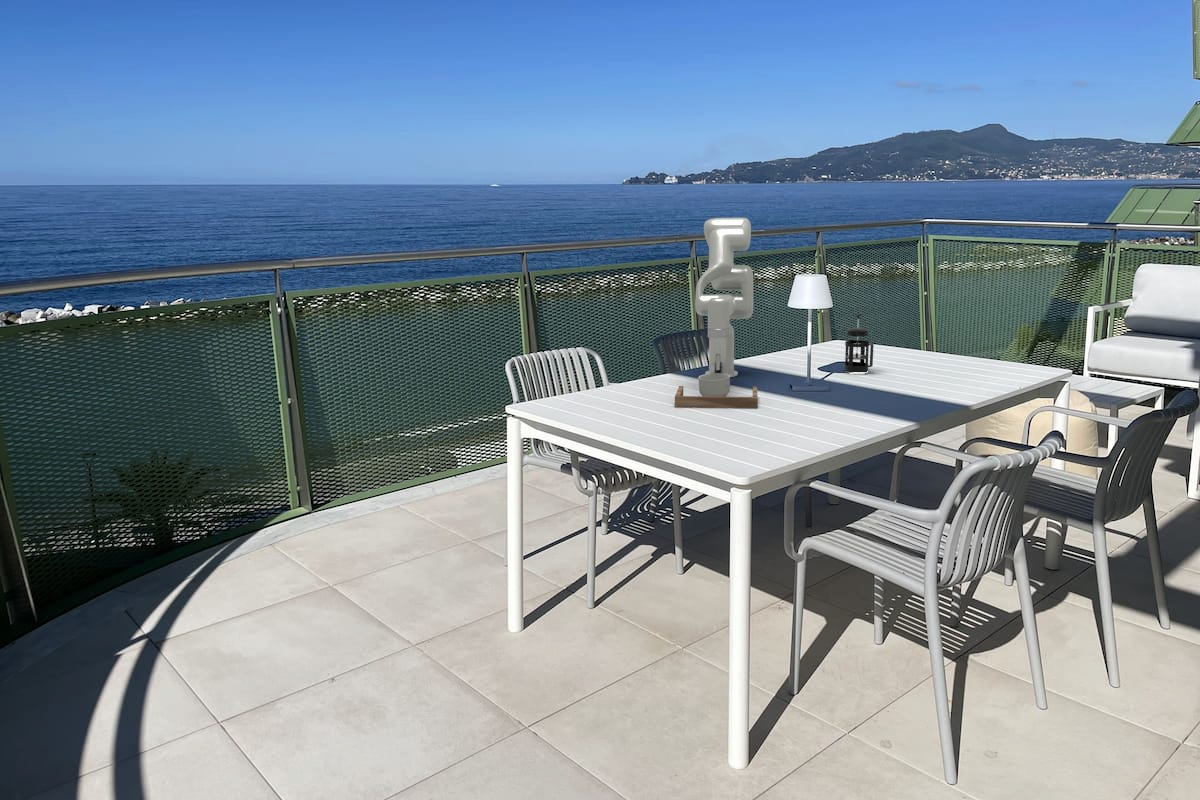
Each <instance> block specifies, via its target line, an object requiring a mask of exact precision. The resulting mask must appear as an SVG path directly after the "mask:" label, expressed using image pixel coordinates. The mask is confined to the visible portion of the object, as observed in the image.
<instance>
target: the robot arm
mask: <svg viewBox="0 0 1200 800" xmlns="http://www.w3.org/2000/svg"><path fill="white" fill-rule="evenodd" d="M703 233H704V238H705V240H706V243H707V246H708V252H709V253H708V268H707V269H706V270H705V271H704V273H703V274H702V275H701V276H700V278H698V281H697V284H696V286H695V299H694V300H695V302H694V303H695V304H694V307H695V312H696V314H697V315H699V316H702V317H703V316H704V317H705V316H706V317H707V338H708V339H709V341H708V343H709V344H708V347H709V349H708V350H709V351H708V353H709V355H708V357H709V358H708V366H709V367H708V368H709V369H708V370H706V371H705V373H704V374H706V373H724V374H728V375H730V378H735V377H738V374H739V372H738V371H737V370H735V362H734V361H735V330H734V326H732V325H731V323H730V320H743V319H745V320H746V319H749V318H751V317H752V315H753V313H754V271H753V270H752V267H750V265H747V264H746V265H745V264H735V263H734V252H744V251H748V249H749V248H750V245H751V240H752V239H751V237H752V236H751V235H752V234H751V233H752V225H751V221H750V219H749V218H746V217H715V218H710V219H707V220H706V221H705V222H704V224H703ZM710 283H711V287H712V288H713V289H714V290H717V291H739V292H741V293H716V294H704V290H705V288H706V287H707V285H709V284H710Z"/></svg>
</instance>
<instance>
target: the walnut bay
mask: <svg viewBox="0 0 1200 800" xmlns="http://www.w3.org/2000/svg"><path fill="white" fill-rule="evenodd" d="M758 399H759V398H758V386H752V396H726V397H718V396H702V395H701V396H699V395H694V396H693V395H690V396H689V395H684V386H683V385H679V386H678V388H677V390H676V393H675V395H674V408H692V407H697V409H698V408H699V409H701V408H703V409H704V408H706V409H707V408H708V409H711V408H712V409H713V408H714V409H758Z"/></svg>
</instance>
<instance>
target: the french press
mask: <svg viewBox="0 0 1200 800" xmlns="http://www.w3.org/2000/svg"><path fill="white" fill-rule="evenodd" d="M864 315H865V314H864V313H861V312H859V313H853V314H852V316H856V319H857V327H849V328H845V331H846V335H847V336H849V337H856V339H852V340H846V341H845V343H844V345H845V358H844V361H845V362H844V366H843V367H844V369H843V371H844V370H846V371H849V372H867V371H869V368H871V367H873V363H874V343H870V341H869V340H862V339H861V340H860V339H859V337H869V335H870V334H869V333H870V331H871V329H870V328H865V327H859V321H860V317H861V316H864ZM854 348H856V352H855V354H854ZM858 348H860V354H859V353H858ZM869 348H870V349H869ZM869 350H870V354H869ZM854 360H858V361H854Z"/></svg>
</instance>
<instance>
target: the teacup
mask: <svg viewBox="0 0 1200 800" xmlns="http://www.w3.org/2000/svg"><path fill="white" fill-rule="evenodd" d="M730 378H731V377H730V375H728V374H724V373H706V374H705V373H704V374H702V375H701V374H700V375H699V376H697V379H698V387H699V394H700V395H701V396H718V397H728V395H729V393H730V390H731V389H730V388H731V380H730Z"/></svg>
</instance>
